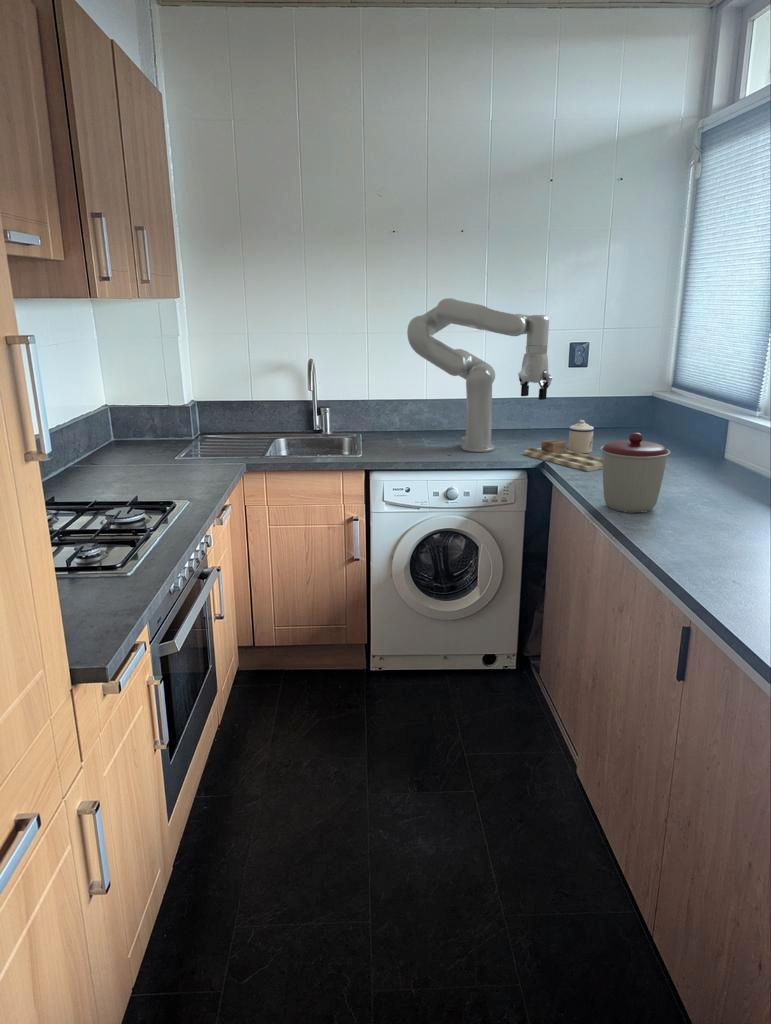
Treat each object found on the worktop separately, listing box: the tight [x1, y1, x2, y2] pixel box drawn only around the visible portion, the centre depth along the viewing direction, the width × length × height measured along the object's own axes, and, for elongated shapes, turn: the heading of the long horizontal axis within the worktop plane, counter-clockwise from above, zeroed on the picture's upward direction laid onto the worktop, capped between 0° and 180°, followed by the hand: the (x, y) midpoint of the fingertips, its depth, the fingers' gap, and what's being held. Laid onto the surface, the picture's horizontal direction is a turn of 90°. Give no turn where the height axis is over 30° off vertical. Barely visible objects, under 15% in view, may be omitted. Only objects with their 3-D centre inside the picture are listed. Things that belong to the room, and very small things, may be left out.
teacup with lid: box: [567, 419, 595, 455], centre depth 273 cm, size 12×9×12 cm
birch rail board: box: [523, 446, 603, 472], centre depth 258 cm, size 32×12×2 cm, turn 31°
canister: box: [599, 432, 671, 513], centre depth 198 cm, size 18×18×21 cm
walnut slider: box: [540, 439, 567, 454], centre depth 263 cm, size 6×6×4 cm
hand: (533, 397), depth 268 cm, fingers open, 9 cm apart
